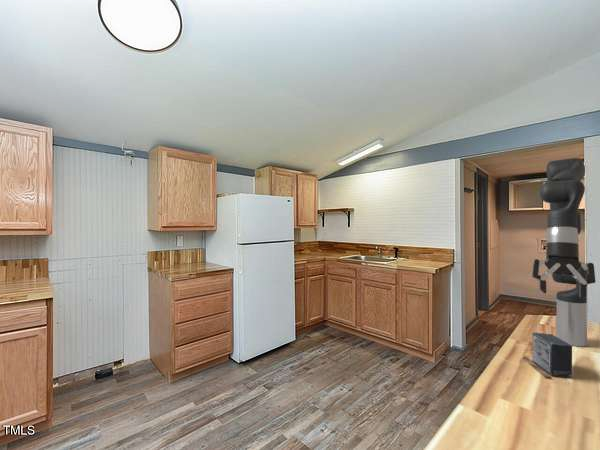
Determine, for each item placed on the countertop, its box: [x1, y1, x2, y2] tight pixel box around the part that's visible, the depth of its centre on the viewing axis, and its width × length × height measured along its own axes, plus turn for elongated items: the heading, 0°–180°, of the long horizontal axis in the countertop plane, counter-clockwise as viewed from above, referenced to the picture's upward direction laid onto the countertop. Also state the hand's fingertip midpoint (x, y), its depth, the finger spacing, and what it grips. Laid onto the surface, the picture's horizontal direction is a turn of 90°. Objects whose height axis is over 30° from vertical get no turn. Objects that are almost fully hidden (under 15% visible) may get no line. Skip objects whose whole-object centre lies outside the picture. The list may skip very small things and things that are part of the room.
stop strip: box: [522, 356, 552, 380], centre depth 99 cm, size 14×2×1 cm, turn 167°
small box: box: [531, 332, 573, 379], centre depth 98 cm, size 11×6×10 cm, turn 168°
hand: (562, 295), depth 89 cm, fingers open, 8 cm apart
